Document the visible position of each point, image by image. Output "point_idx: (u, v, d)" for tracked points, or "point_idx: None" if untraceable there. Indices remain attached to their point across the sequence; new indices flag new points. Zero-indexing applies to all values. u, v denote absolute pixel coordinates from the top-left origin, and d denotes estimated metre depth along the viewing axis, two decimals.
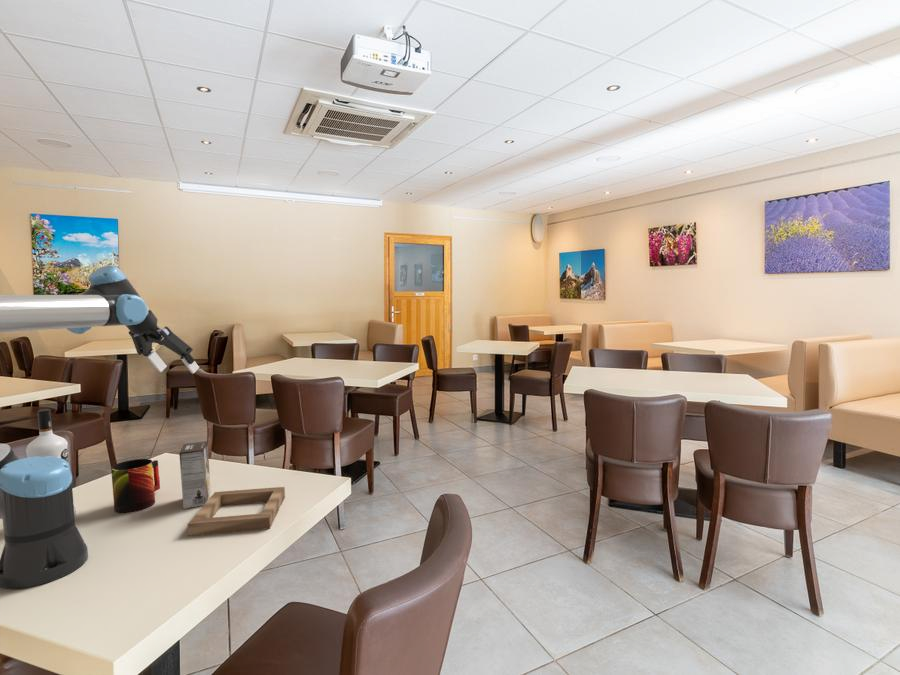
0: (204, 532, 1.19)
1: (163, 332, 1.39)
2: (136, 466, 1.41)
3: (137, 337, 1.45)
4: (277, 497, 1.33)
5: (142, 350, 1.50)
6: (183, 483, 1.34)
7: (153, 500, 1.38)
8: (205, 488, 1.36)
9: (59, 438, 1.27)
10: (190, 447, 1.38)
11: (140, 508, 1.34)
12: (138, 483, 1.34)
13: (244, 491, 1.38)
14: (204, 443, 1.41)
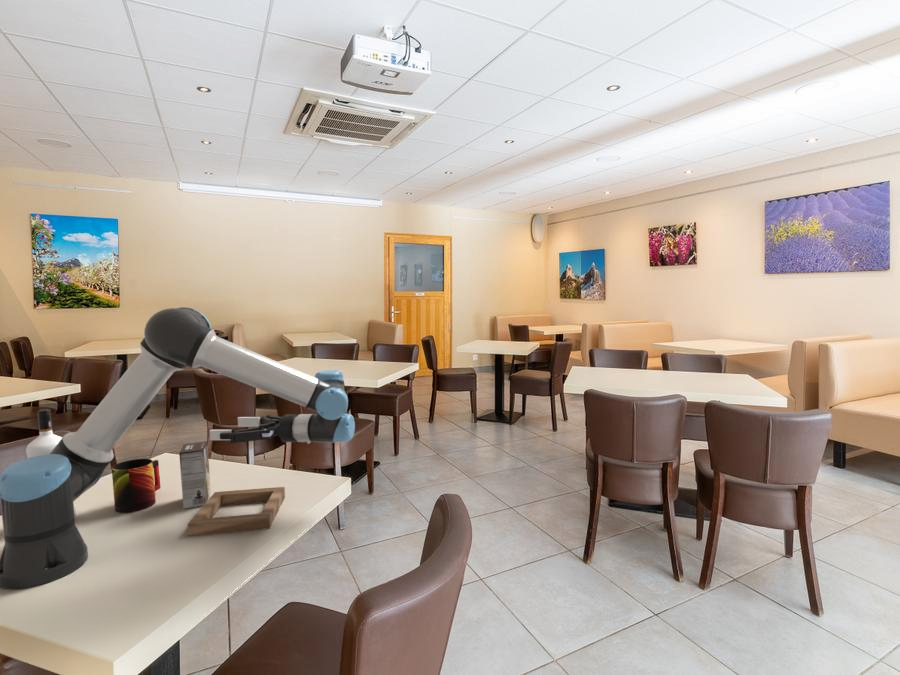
0: (204, 532, 1.19)
1: (267, 431, 1.28)
2: (136, 466, 1.41)
3: None
4: (277, 497, 1.33)
5: None
6: (183, 483, 1.34)
7: (153, 500, 1.38)
8: (205, 488, 1.36)
9: (59, 438, 1.27)
10: (190, 447, 1.37)
11: (141, 508, 1.34)
12: (139, 483, 1.34)
13: (244, 491, 1.38)
14: (204, 443, 1.41)
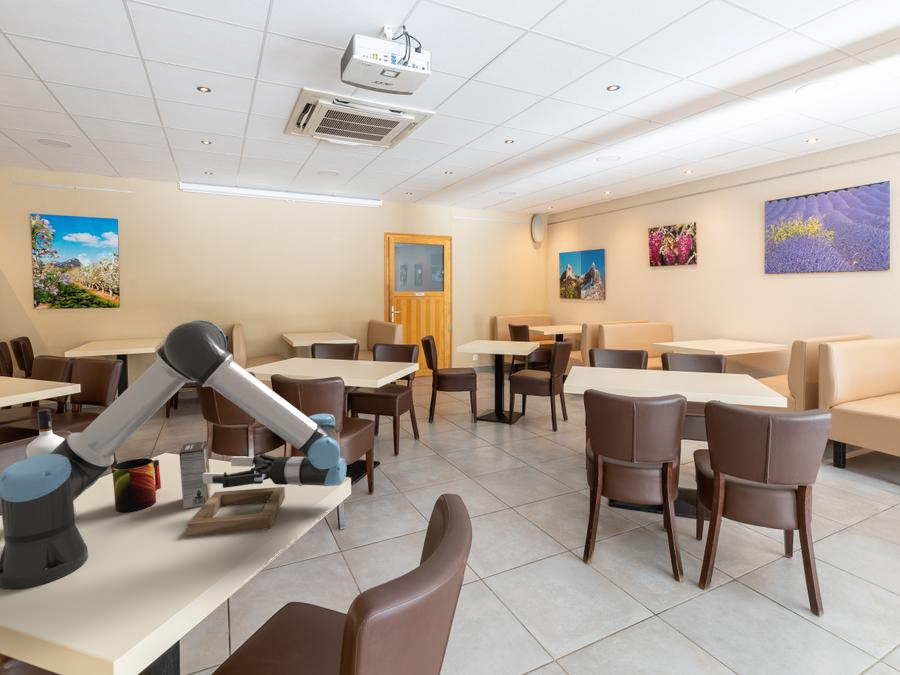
0: (204, 532, 1.19)
1: (259, 476, 1.30)
2: (137, 466, 1.41)
3: (274, 461, 1.43)
4: (277, 497, 1.33)
5: None
6: (183, 483, 1.34)
7: (154, 499, 1.39)
8: (205, 488, 1.36)
9: (59, 438, 1.27)
10: (190, 447, 1.37)
11: (141, 507, 1.35)
12: (139, 482, 1.34)
13: (244, 491, 1.38)
14: (204, 443, 1.41)
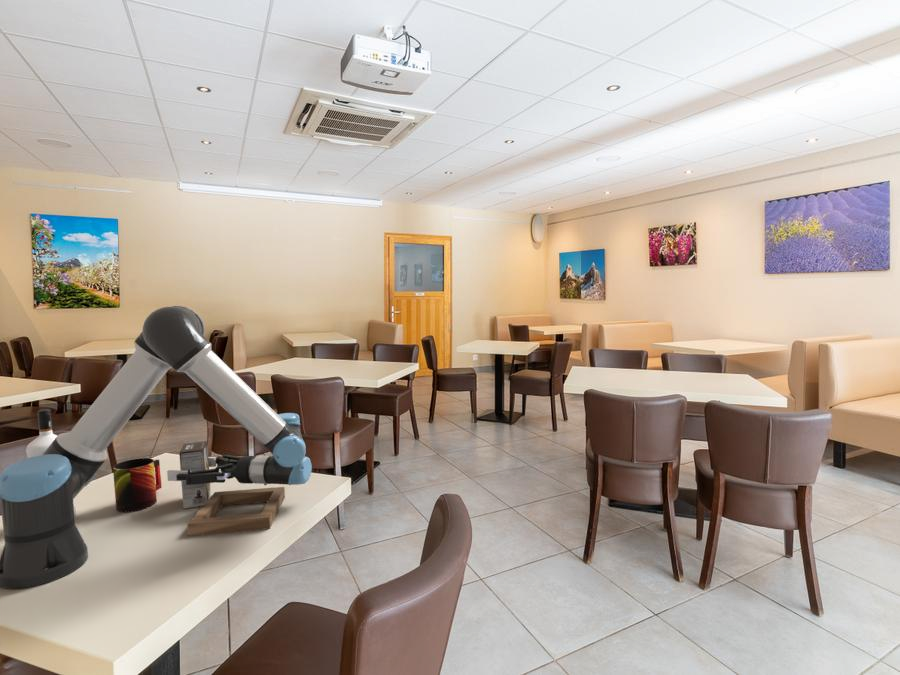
0: (204, 532, 1.19)
1: (221, 475, 1.31)
2: (138, 465, 1.42)
3: (239, 460, 1.43)
4: (277, 497, 1.33)
5: None
6: (183, 483, 1.34)
7: (155, 499, 1.39)
8: (205, 488, 1.36)
9: None
10: (190, 447, 1.38)
11: (142, 507, 1.35)
12: (140, 482, 1.34)
13: (244, 491, 1.38)
14: (204, 443, 1.41)
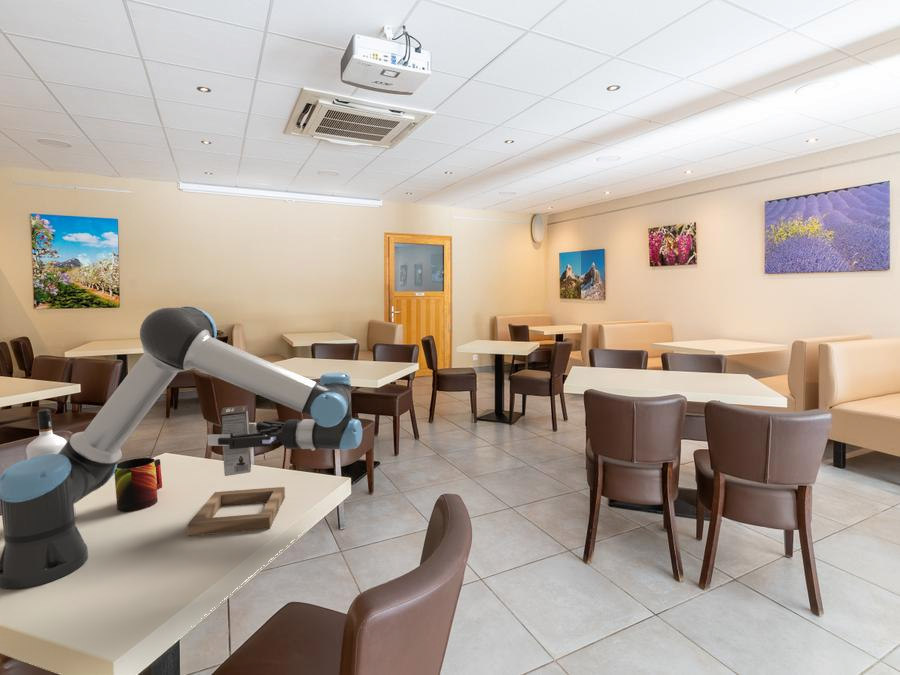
0: (204, 532, 1.19)
1: (267, 438, 1.20)
2: (138, 465, 1.42)
3: (281, 426, 1.33)
4: (277, 497, 1.33)
5: None
6: (224, 448, 1.23)
7: (155, 499, 1.39)
8: (248, 454, 1.26)
9: (59, 438, 1.27)
10: (231, 410, 1.27)
11: (143, 507, 1.35)
12: (141, 482, 1.35)
13: (244, 491, 1.38)
14: (245, 407, 1.31)
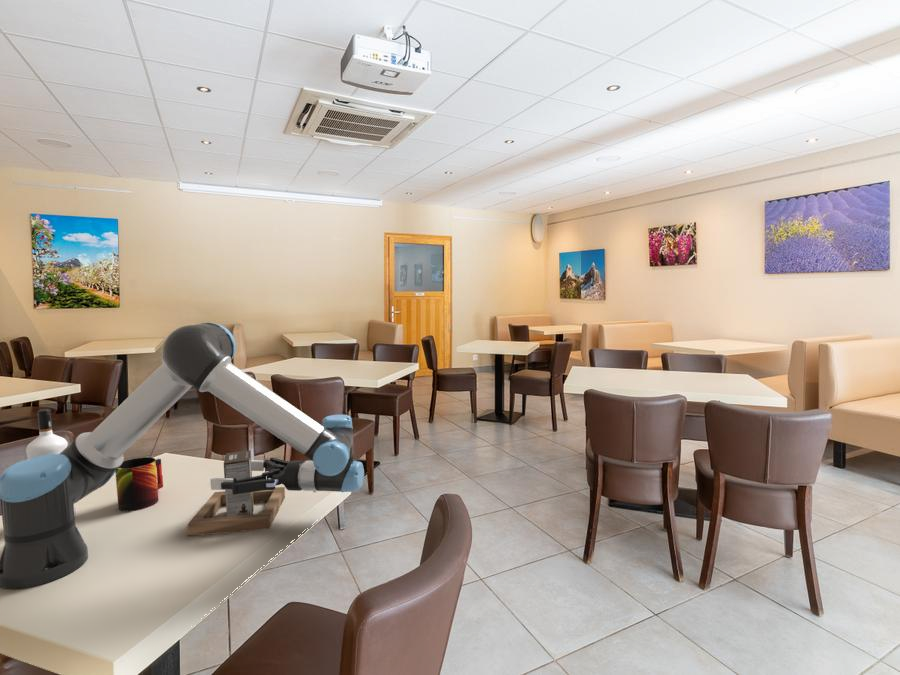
0: (204, 532, 1.19)
1: (271, 481, 1.21)
2: (139, 464, 1.42)
3: (285, 465, 1.34)
4: (277, 497, 1.33)
5: None
6: (227, 496, 1.24)
7: (156, 498, 1.40)
8: (250, 501, 1.26)
9: (59, 438, 1.27)
10: (234, 457, 1.28)
11: (144, 506, 1.36)
12: (142, 481, 1.35)
13: None
14: (248, 452, 1.31)
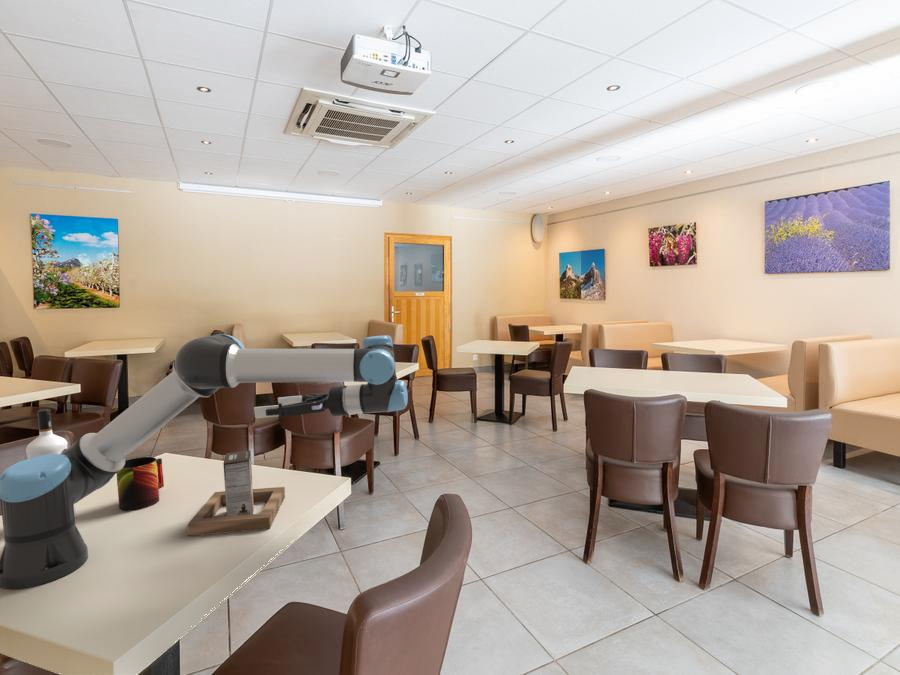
0: (204, 532, 1.19)
1: (317, 404, 1.19)
2: (140, 464, 1.43)
3: None
4: (277, 497, 1.33)
5: None
6: (227, 496, 1.24)
7: (157, 498, 1.40)
8: (250, 501, 1.26)
9: (59, 438, 1.27)
10: (234, 457, 1.28)
11: (145, 505, 1.36)
12: (143, 481, 1.35)
13: None
14: (247, 452, 1.31)
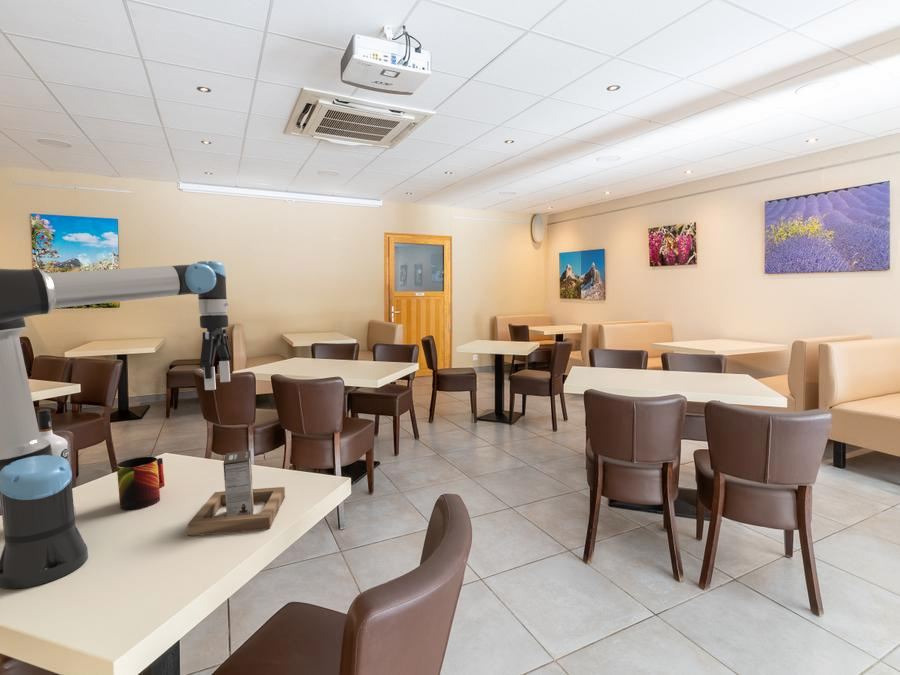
0: (204, 532, 1.19)
1: (203, 334, 1.38)
2: (141, 464, 1.43)
3: None
4: (277, 497, 1.33)
5: None
6: (227, 496, 1.24)
7: (158, 497, 1.40)
8: (250, 501, 1.26)
9: (59, 438, 1.27)
10: (234, 457, 1.28)
11: (145, 505, 1.36)
12: (143, 480, 1.36)
13: None
14: (247, 452, 1.31)
